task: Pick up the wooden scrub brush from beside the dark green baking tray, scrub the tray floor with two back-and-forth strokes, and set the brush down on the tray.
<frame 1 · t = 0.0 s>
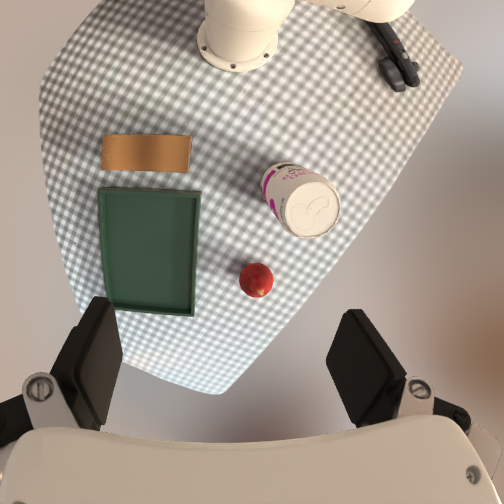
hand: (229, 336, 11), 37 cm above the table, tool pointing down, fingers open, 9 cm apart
tray: (149, 252, 47), on the table
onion: (253, 269, 52), on the table
scrub brush: (152, 149, 40), on the table
supplement can: (283, 185, 46), on the table
can opener: (382, 49, 36), on the table
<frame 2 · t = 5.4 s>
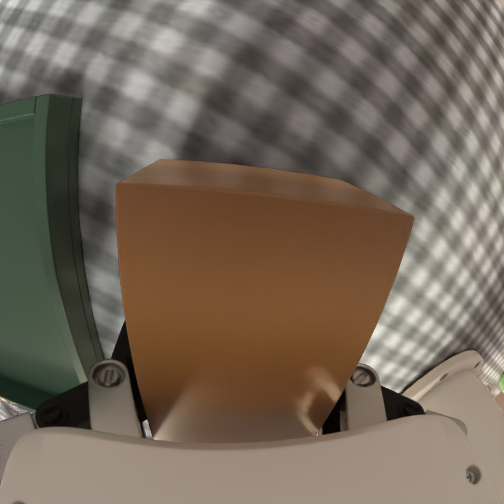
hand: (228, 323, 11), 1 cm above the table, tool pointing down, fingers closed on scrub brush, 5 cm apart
scrub brush: (227, 310, 12), on the table, touching gripper
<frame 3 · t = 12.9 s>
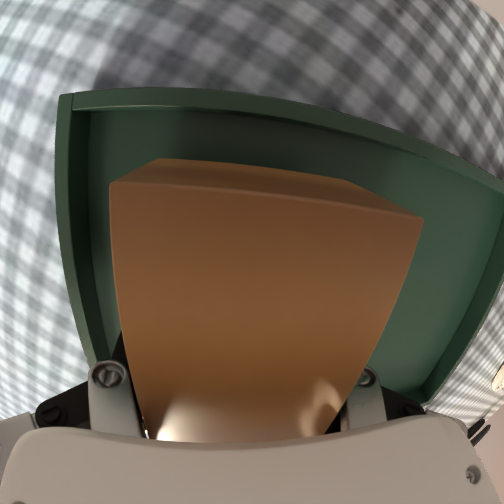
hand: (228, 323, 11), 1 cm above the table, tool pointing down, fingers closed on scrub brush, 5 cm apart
tray: (331, 307, 13), on the table
scrub brush: (227, 314, 12), point 1 cm above the table, touching gripper, tray
can opener: (453, 440, 36), on the table
when the fingers open (1 cm above the table, at t = 20.9 s): scrub brush stays where it is, resting on tray.
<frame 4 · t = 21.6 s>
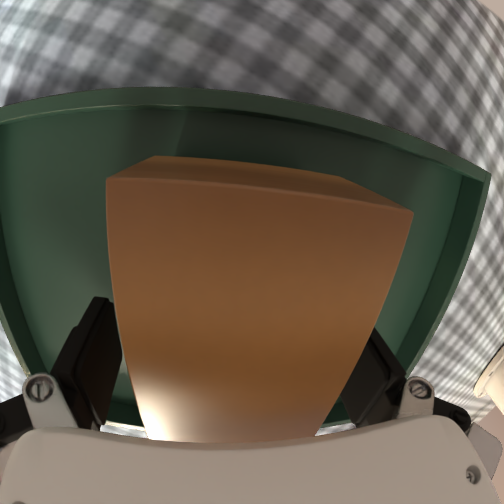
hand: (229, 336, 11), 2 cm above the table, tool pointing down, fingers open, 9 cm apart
tray: (224, 301, 13), on the table
scrub brush: (224, 310, 12), point 1 cm above the table, touching tray
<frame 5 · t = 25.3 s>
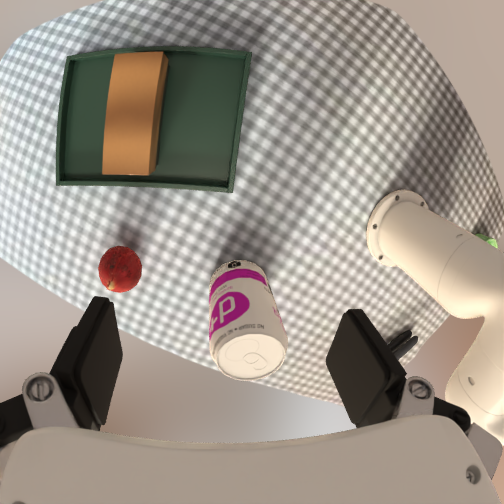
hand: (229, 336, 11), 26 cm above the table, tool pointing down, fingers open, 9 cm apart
tray: (145, 115, 29), on the table
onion: (127, 256, 36), on the table
scrub brush: (143, 114, 28), point 1 cm above the table, touching tray
supplement can: (238, 282, 40), on the table
ramekin: (472, 250, 45), on the table
can opener: (376, 349, 51), on the table
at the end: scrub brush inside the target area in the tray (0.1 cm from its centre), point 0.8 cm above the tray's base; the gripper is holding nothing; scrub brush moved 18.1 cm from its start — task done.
